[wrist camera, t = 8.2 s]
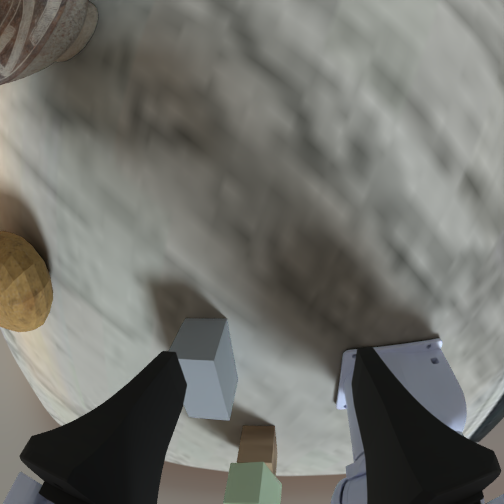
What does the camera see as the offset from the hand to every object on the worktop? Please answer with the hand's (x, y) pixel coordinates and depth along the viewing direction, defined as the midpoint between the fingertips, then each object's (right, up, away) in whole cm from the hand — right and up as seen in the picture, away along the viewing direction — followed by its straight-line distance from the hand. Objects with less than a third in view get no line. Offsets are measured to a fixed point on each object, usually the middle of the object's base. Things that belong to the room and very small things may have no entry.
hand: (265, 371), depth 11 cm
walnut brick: (+1, -18, +19) cm, 26 cm away
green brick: (0, -19, +14) cm, 24 cm away
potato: (-24, +4, +13) cm, 27 cm away
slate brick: (-4, -4, +14) cm, 15 cm away
